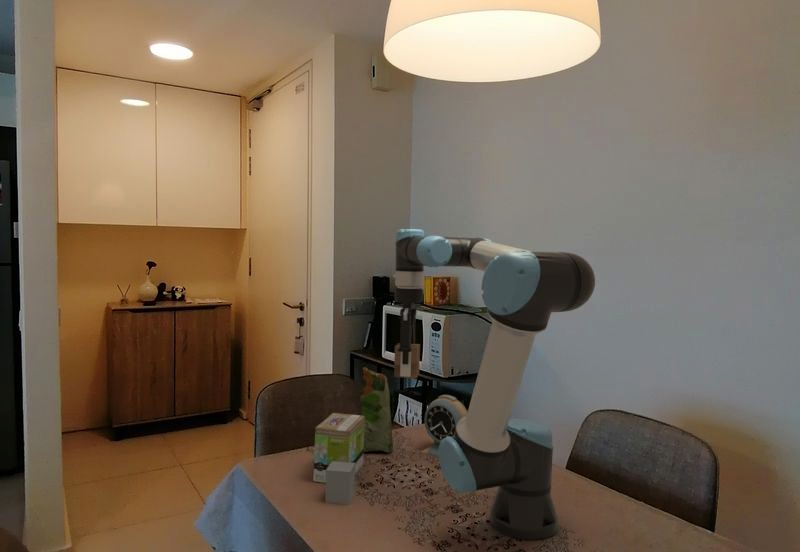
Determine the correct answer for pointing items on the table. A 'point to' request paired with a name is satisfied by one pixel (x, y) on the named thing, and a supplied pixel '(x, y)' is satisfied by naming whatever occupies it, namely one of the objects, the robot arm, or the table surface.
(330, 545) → the table surface
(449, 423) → the alarm clock
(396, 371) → the walnut block
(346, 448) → the tea box
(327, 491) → the grey block
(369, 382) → the pouch
